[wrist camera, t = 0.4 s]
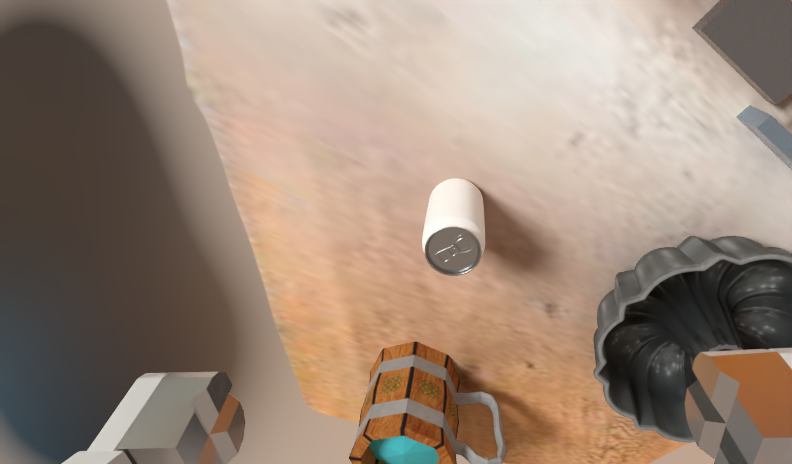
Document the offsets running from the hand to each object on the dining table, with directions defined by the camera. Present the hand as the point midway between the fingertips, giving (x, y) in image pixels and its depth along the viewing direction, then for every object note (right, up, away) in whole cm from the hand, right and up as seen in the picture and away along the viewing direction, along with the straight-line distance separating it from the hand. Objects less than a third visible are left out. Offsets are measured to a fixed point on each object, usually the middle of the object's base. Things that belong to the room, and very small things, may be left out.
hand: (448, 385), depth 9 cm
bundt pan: (+36, -6, +52) cm, 64 cm away
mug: (+5, -19, +64) cm, 67 cm away
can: (+6, +6, +50) cm, 51 cm away
